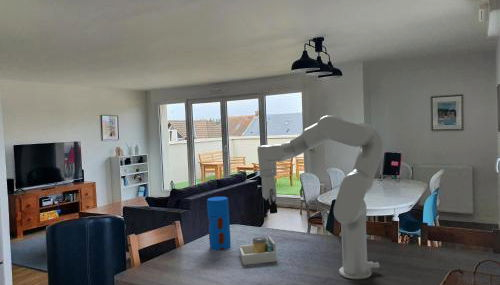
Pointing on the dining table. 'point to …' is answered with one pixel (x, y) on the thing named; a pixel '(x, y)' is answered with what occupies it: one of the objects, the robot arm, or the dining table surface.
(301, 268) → the dining table surface
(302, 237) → the dining table surface
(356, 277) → the robot arm
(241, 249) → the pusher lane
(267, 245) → the plate
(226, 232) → the thermos
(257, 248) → the amber jar
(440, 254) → the dining table surface
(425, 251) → the dining table surface
